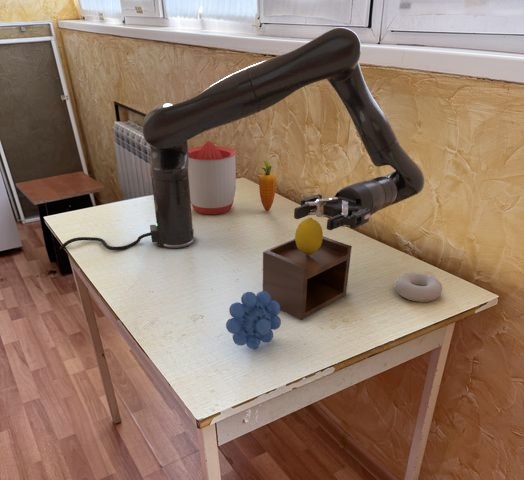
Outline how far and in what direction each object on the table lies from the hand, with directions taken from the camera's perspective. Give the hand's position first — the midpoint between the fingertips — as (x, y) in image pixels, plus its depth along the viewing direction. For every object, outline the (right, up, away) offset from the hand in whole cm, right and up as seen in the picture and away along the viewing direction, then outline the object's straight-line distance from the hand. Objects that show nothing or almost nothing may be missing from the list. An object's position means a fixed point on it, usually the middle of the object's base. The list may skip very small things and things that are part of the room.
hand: (311, 219), depth 98 cm
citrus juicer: (-26, +18, +56) cm, 65 cm away
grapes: (-11, -26, -6) cm, 29 cm away
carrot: (-8, +17, +55) cm, 58 cm away
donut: (+25, -14, +12) cm, 30 cm away
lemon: (0, -7, +4) cm, 8 cm away
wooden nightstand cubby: (0, -15, +10) cm, 18 cm away
